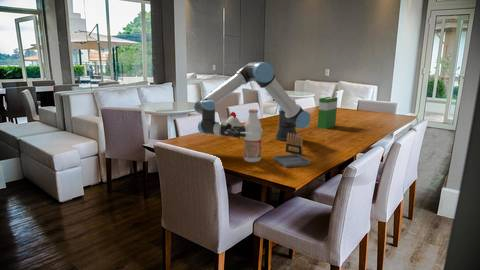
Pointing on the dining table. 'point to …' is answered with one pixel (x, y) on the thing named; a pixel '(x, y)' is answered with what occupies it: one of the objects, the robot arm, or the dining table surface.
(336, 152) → the dining table surface
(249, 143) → the white milk bottle
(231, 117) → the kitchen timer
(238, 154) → the dining table surface
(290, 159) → the tray
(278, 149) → the dining table surface
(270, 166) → the dining table surface
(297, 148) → the ammunition clip
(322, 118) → the green white box
